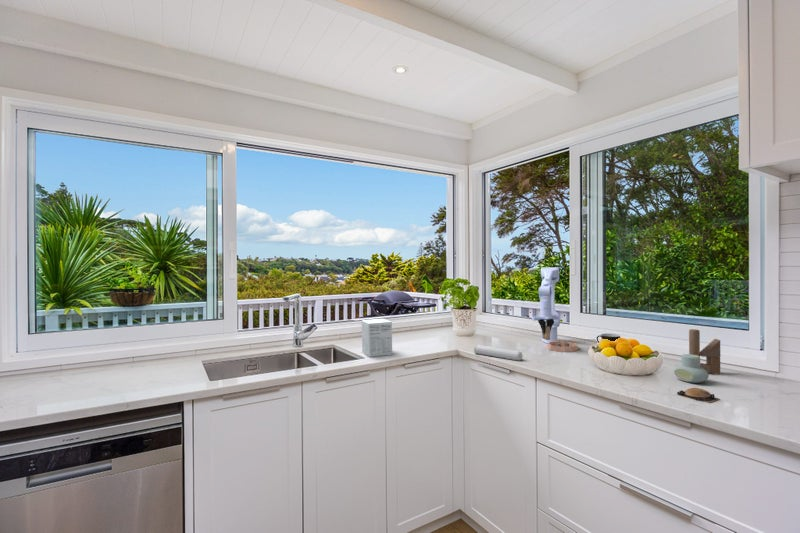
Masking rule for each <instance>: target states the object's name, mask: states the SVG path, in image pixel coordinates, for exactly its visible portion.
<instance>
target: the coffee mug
mask: <svg viewBox="0 0 800 533" xmlns="http://www.w3.org/2000/svg"><path fill="white" fill-rule="evenodd" d="M599 337H601V340H602V339H608V340H610V341H615V340H616V339H618V338H620V339H621V334H616V333H601V334H600V335H597V336H596V341H597V342H598V344H599V342H600V341H599Z"/></svg>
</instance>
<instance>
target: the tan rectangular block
mask: <svg viewBox="0 0 800 533" xmlns="http://www.w3.org/2000/svg"><path fill="white" fill-rule="evenodd" d="M542 338H543V339H545V340H550V327H549V326H547V325H545V334H543V333H542V332H541V339H542Z"/></svg>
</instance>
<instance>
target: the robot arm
mask: <svg viewBox="0 0 800 533" xmlns="http://www.w3.org/2000/svg"><path fill="white" fill-rule="evenodd" d="M540 277H541V280H542V281H541V284H540V286H539V287H538V297H539V308H540V309H539V313H540V315H533V316H531V319H532V320H531V321H533V322H534V321H537V322H538V324H539V326H540V329H541V334H542V333H543V334H545V325H547V326H549V327H550V340H545V339H543V338H542V337H541V339H540V341H541V342H543V343H545V344H548V342H552V341H558V327H560V323H561V321H560V320H561V316H560V313H559V312H558V311H556V310H555V304H556V303H555V299H556V298H555V297H556V296H555V295H556V294H555V293H556V292H555V286H556V283H559V280H560V268H559V266H557V267H554V266H553V267H552V266H551V267H547V266H546V267H543V266H541V269H540Z"/></svg>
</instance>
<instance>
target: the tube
mask: <svg viewBox="0 0 800 533" xmlns="http://www.w3.org/2000/svg"><path fill="white" fill-rule="evenodd" d="M473 353H474V354H475V355H481V356H488V357H494V358H500V359H504V360H505V359H507V360H512V361H515V362H516V361H517V362H519V361H522V359H523V358H524V357H523V353H522V352H521V351H520V350H515V349H509V348H502V347H495V346H488V345H482V344H479V343H476V344H475V345H474V347H473Z"/></svg>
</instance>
